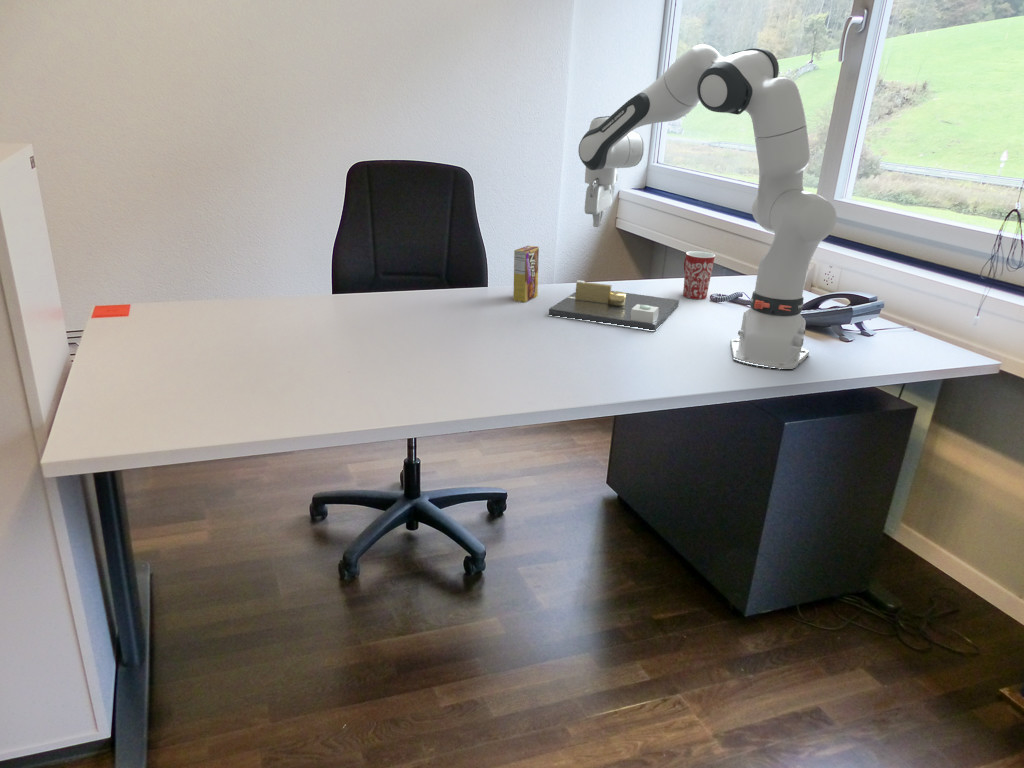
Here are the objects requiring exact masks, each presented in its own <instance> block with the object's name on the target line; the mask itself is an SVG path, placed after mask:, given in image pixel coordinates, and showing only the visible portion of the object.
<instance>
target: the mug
mask: <svg viewBox="0 0 1024 768" xmlns="http://www.w3.org/2000/svg"><path fill="white" fill-rule="evenodd" d="M715 258H716V254H714V253H711V252H705V251H698V250H696V251H695V250H694V251H687V252H685V258H684V262H683V272H684V280H683V290H682V291H683V293H682V294H683V297H685V298H687V299H694V300H705V299H706V298H708V297H707V296H708V292H709V285H710V282H711V278H712V277H711V276H712V272H713V268H714V261H715Z"/></svg>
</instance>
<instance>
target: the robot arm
mask: <svg viewBox="0 0 1024 768" xmlns="http://www.w3.org/2000/svg"><path fill="white" fill-rule="evenodd" d="M777 59H778V58H777V57H776V56H775V55H774V53H772V52H771V51H769V50H768V49H765V48H760V47H759V48H758V47H756V48H755V47H754V48H747V49H743V50H738V51H734V52H732V53H731V54H730V55H728V56H722V55H721V54H720V53H719V52H718V50H716V49H715V48H714V47H712V46H711V45H709V44H708V45H707V44H704V43H702V44H698V45H695V46H693V47H692V48H690V49H688V50H687V51H686V52H685V53H683V54H682V55H681V56H680V57H679V58H677V59H676V60H675V61H673V63H671V65H670V66H669V67H668V68H667V69H666V70H665V71H664V72H663V73H662V74H661V75H660V76H659V77H658V78H657V79H656V80H655V81H653V82H652V83H651V84H650V85H648V87H646V88H645V89H643V90H642V91H640V92H639V93H637V94H636V95H634V96H633V97H631V98H630V99H628V100H627V101H626V102H625V103H623V105H621V106H620V107H619V108H618V109H617V110H616V111H615V112H613V113H612V114H611V115H606V116H597V117H595V118H593V119H592V120H591V121H590V125H589V128H588V131H586V132H585V134H584V135H583V136H582V138H581V140H580V142H579V145H578V157H579V159H580V160H581V162H582V164H583V165H584V166H585V170H584V171H585V172H584V183H585V184H588V186H587V188H586V190H585V199H584V200H585V201H584V213H585V214H586V215H592V221H593V223H592V225H593V227H594V228H600V227H601V226H602V223H603V222H602V221H603V217H604V211H605V210H606V209H609V208H610V207H612V204H613V200H614V193H615V186H616V184H617V181H618V169H627V168H629V169H630V168H633V167H636V166H638V164H640V162H641V161H642V159H643V157H644V153H645V152H644V151H645V144H644V140H643V137H642V136H641V135H640V133H638V132H636V131H634V130H636V129H638V128H640V127H644V126H647V125H653V124H658V123H667V122H672V121H673V122H674V121H677V120H680V119H681V118H683V117H685V116H686V115H687V114H689V113H690V112H692V110H694V109H695V108H696V107H697V106H698V105H699V104H700V103H701V104H702V106H703V107H705V108H706V110H709V111H711V112H713V113H714V112H715V113H724V114H731V115H733V114H734V115H741V114H742V113H743V112H746V113H748V115H749V117H750V118H751V122H752V127H753V135H754V142H755V147H756V156H757V162H758V163H757V164H758V171H759V172H758V174H759V175H758V189H757V195H756V196H755V198H754V200H753V202H752V206H751V213H752V218H753V219H754V221H755V222H756V223H757V224H758V225H759V226H760V227H762V229H764V230H765V231H767V232H769V233H772V234H774V237H773V240H772V242H771V245H770V247H769V249H768V251H767V253H766V254H765V255H763V256H762V258H760V260H759V262H758V268H757V275H756V281H755V287H754V290H753V292H752V295H751V297H750V305H749V306H750V308H749V309H747V310H745V311H744V312H743V315H742V320H741V326H740V329H739V330H738V333H737V334H738V336H739V338H731V339H730V341H729V344H730V343H731V346H730V349H731V348H732V352H731V355H732V354H733V358H735V359H738V360H741V361H745V362H749V363H753V364H758V365H764V366H768V367H775V368H781V369H782V368H783V369H793V368H795V367H796V366H797V365H798V364H799V363H800V364H801V363H803V361H805V359H807V358H806V357H807V356H808V355H810V351H809V350H808V349H806V348H804V347H803V345H804V341H805V339H804V336H805V334H806V324H807V322H806V321H807V320H805V318H804V317H803V316H802V314H801V312H802V311H803V306H804V299H805V298H804V296H803V294H804V289H805V284H806V279H807V274H808V270H809V266H810V263H811V261H812V257H813V256H814V254H815V252H816V250H817V248H818V246H819V244H820V243H821V242H822V241H823V240H825V239H826V238H827V237H828V236H830V234H831V233H832V232H833V230H834V228H835V226H836V223H837V211H836V208H835V207H834V205H833V204H832V203H831V202H830V201H828V200H827V199H826V198H824V197H823V196H822V195H820V194H817V193H814V192H809V191H805V189H804V174H805V170H806V167H808V165H809V163H810V160H811V150H810V142H809V134H808V125H807V120H806V119H807V118H806V112H805V109H804V104H803V100H802V98H801V94H800V91H799V88H798V86H797V83H796V82H795V81H794V80H792V79H791V78H788V77H783V76H782V77H781V76H780V77H778V76H779V73H780V65H779V62H778V60H777ZM808 357H809V356H808ZM733 358H732V359H733ZM800 364H799V365H800ZM799 365H798V366H799ZM798 366H797V367H798ZM797 367H796V368H797ZM796 368H795V369H796ZM793 370H794V369H793Z"/></svg>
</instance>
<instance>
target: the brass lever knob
mask: <svg viewBox="0 0 1024 768" xmlns="http://www.w3.org/2000/svg"><path fill="white" fill-rule="evenodd" d="M575 292H576V296H575V299H577V300H585V301H593V302H602V303H608V304H610V305H614V306H623V305H625V300H626V293H627V292H623V291H617V290H612V285H611V284H604V283H596V282H586V281H585V280H577V281H576V283H575Z"/></svg>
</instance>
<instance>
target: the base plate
mask: <svg viewBox="0 0 1024 768" xmlns="http://www.w3.org/2000/svg"><path fill="white" fill-rule="evenodd" d="M625 293H626V300H625V305H623V306H614V305H610V304H608V303H602V302H593V301H585V300H577V299H575V296H576V291H575V292H573V293H572V294H570V295H569V296H567V297H566V298H564V299H562V300H561V301H559V302H558V303H556V304H554V305H552V306H551V307H550V308H548V316H549V315H552V316H551V317H554V316H560V317H567V318H575V319H582V320H590V321H596V322H603V323H611V324H617V325H624V326H630V327H638V328H643V329H649V330H656V329H657V328H658V327H659V326H660V325H661V324H662V325H663V324H664V323H665V321H666V320H667V319H668V318H669V317H670V316H671V315H672V314H673V312H675V311H676V310H677V309H678V307H679V305H680V304H679V303H680V299H674V298H666V297H659V296H651V295H647V294H646V295H644V294H638V293H632V292H631V293H630V292H625ZM560 317H559V318H560ZM567 318H566V319H567ZM662 325H661V326H662ZM661 326H660V327H661ZM660 327H659V328H660ZM659 328H658V329H659ZM658 329H657V330H658ZM657 330H656V331H657Z"/></svg>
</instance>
